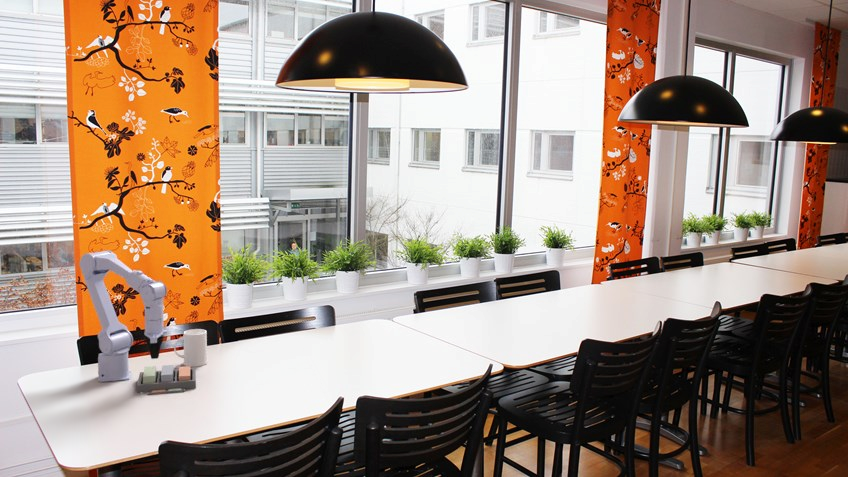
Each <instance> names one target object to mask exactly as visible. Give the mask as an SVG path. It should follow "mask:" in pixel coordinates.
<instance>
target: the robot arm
mask: <svg viewBox="0 0 848 477" xmlns="http://www.w3.org/2000/svg"><path fill="white" fill-rule="evenodd" d="M78 265H79V268H80V270H81V273H82V275H83V280H84V283H85V286H86V288H87V291H88V293H89V296H90V298H91V302H92V304H93V306H94V310H95V313H96V315H97V318H98V321H99V323H100V326H101V330H100V331H99V332H98V334H97V339H98V348H99V350H100V351H101V353H98V357H97V361H98V362H97V367H98V368H97V369H98V370H97V371H98V372H97V374H98V382H99V383H100V382H101V383H102V382H115V381H116V382H117V381H127V380H130V377H131V373H132V371H130V369H129V351H130V349H131V347H132V346H133V344H134V337H133V334H132V333H131V332H130V331H129V329H128V327H127V325H126V324H123V323H122V322H120V321H119V319H118V317H117V313H116V310H115V308H114V305H113V303H112V301H111V298H110V294H109V292H108V290H107V286H106V285H105V284H106V283H105V282H104V279H105V277H106V276H107V275H108V274H109V273H110V271H111V272H112V273H114V274H115V275H118V276H119V277H121V278H122V279H125V281H126V282H125V283H126V285H127V286H129V287H130V288H132V289H133V290H134V291H136V292H138V293H139V294H140V298H141V299H142V304H143V306H144V336H145V338H144V341H145V343H146V345H147V346H148V351H149V354H150V355H149V356H150V359H151V360H155V359H159V357H160V350H161V347H162V346H161V345H162V344H163V342H164V334H168V330H167V329H165V328H164V298H165V297H166V296H167V293H168V290H167V286H166V284H165V283H164V282H163V281H160V280H158V281H157V280H154V279H152V278H150V277H149V276H147V275H146V274H145V273H144V272H143V271H142V270H132V269H131V268H130V267H129V266H128V265H126V264H125V263H123V262H122V261H121V260H120V259H118V256H117V254H116V253H114V252H113V251H111V250H109V249H108V250H107V249H106V250H102V251H96V252H91V253H89V252H87V253H84V254H82V256H81V258H80V260H79V263H78Z"/></svg>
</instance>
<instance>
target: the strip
mask: <svg viewBox="0 0 848 477" xmlns="http://www.w3.org/2000/svg"><path fill="white" fill-rule="evenodd" d="M185 390H186V389H185V388H176V389H168V390H165V389H164V390H152V391H149V392H147V393H148V394H147V395H149V396H150V395H161V394H163V395H164V394H173V393H184V392H185Z"/></svg>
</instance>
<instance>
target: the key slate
mask: <svg viewBox="0 0 848 477" xmlns="http://www.w3.org/2000/svg"><path fill="white" fill-rule="evenodd" d="M173 370H174V364H167V365H162V366H161V370H160V371H161V379H160V383H161V382H174V378H173V375H174V372H173Z"/></svg>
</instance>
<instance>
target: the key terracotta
mask: <svg viewBox="0 0 848 477" xmlns="http://www.w3.org/2000/svg"><path fill="white" fill-rule="evenodd" d="M190 368H191V367H190V366H179V367H178V369H179V378H178V381H186V380H191V377H190Z"/></svg>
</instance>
